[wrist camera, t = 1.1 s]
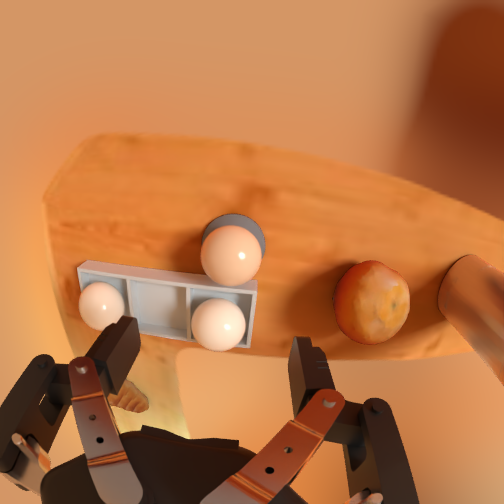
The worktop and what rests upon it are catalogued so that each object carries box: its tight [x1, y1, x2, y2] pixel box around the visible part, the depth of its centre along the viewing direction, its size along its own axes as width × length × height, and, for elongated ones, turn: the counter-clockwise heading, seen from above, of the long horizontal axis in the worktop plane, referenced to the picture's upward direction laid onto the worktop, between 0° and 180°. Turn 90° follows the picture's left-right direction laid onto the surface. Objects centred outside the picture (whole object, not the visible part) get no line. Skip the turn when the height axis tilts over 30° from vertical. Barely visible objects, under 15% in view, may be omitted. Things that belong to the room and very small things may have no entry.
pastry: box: [108, 379, 149, 413], centre depth 33 cm, size 9×7×4 cm
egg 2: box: [191, 298, 246, 352], centre depth 25 cm, size 5×5×5 cm
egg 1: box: [78, 282, 125, 331], centre depth 25 cm, size 5×5×5 cm
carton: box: [77, 260, 257, 348], centre depth 27 cm, size 19×7×2 cm, turn 84°
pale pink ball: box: [200, 225, 262, 286], centre depth 23 cm, size 5×5×5 cm
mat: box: [202, 214, 265, 260], centre depth 26 cm, size 6×6×1 cm
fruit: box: [332, 260, 410, 345], centre depth 25 cm, size 8×8×8 cm
